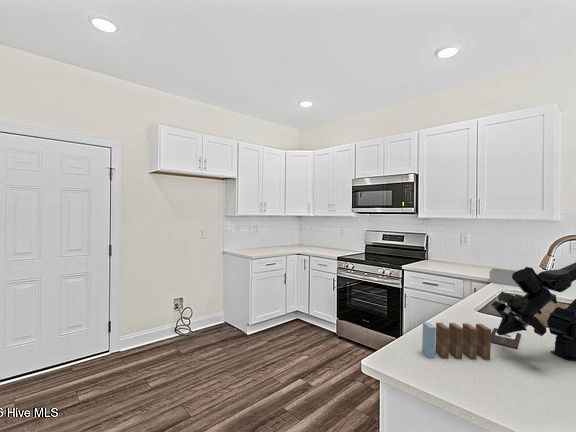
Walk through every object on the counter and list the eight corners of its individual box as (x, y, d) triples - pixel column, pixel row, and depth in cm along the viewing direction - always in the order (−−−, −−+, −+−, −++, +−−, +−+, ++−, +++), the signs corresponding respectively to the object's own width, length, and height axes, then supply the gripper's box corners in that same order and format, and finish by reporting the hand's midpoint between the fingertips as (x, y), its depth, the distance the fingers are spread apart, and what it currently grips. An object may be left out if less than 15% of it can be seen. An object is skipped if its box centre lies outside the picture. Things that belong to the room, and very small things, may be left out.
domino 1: (427, 351, 106) (428, 322, 106) (434, 358, 101) (435, 327, 101) (422, 351, 106) (423, 322, 106) (428, 358, 101) (429, 327, 101)
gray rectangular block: (492, 279, 234) (492, 268, 234) (539, 286, 216) (540, 273, 216) (489, 283, 221) (489, 271, 221) (539, 290, 204) (540, 277, 204)
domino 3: (454, 352, 106) (455, 323, 106) (462, 359, 101) (463, 328, 101) (448, 352, 106) (449, 322, 106) (455, 358, 101) (456, 328, 101)
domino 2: (441, 351, 106) (442, 322, 106) (448, 358, 101) (449, 328, 101) (435, 351, 106) (436, 322, 106) (442, 358, 101) (443, 328, 101)
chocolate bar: (487, 340, 116) (494, 327, 129) (487, 343, 116) (493, 330, 129) (517, 347, 110) (520, 333, 124) (517, 350, 110) (520, 336, 124)
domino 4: (467, 352, 106) (468, 323, 106) (476, 359, 101) (477, 329, 101) (461, 352, 106) (462, 323, 106) (470, 359, 101) (471, 328, 101)
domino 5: (480, 353, 106) (481, 323, 106) (490, 360, 101) (491, 329, 101) (474, 352, 106) (475, 323, 106) (483, 359, 101) (485, 329, 101)
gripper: (497, 278, 113) (465, 307, 113) (538, 291, 94) (500, 326, 94) (518, 300, 112) (486, 330, 113) (563, 318, 94) (525, 353, 94)
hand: (498, 334), depth 103 cm, fingers closed
